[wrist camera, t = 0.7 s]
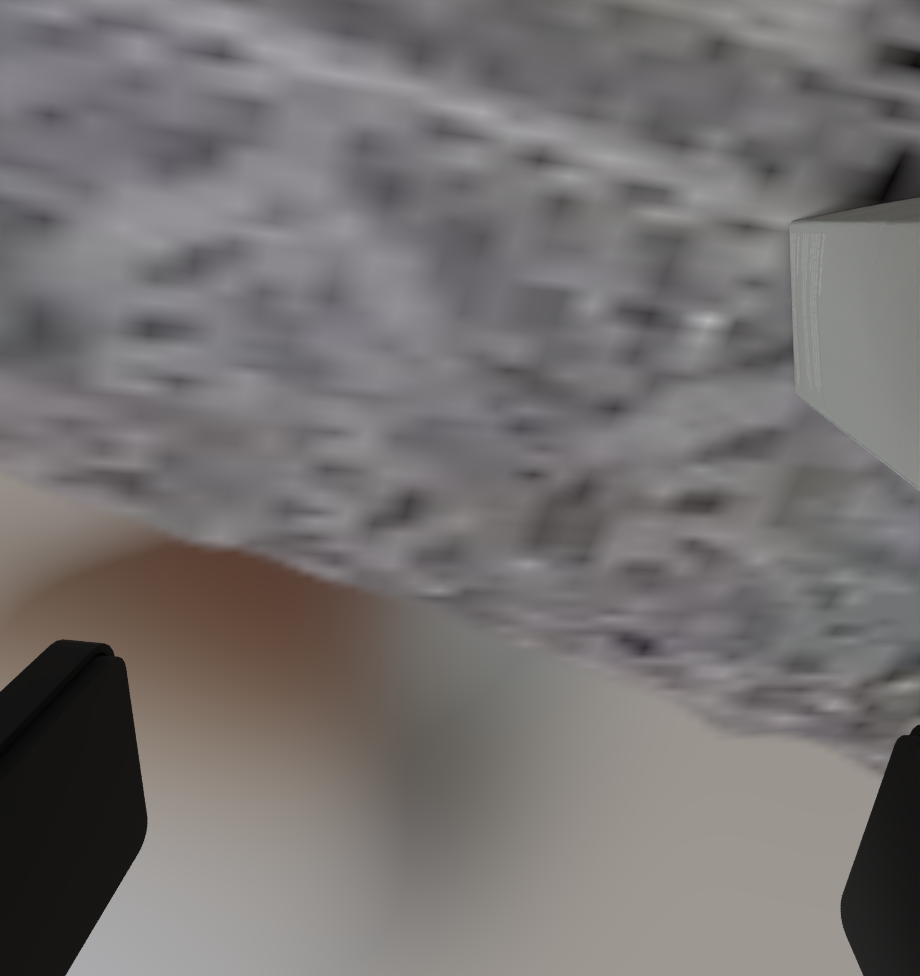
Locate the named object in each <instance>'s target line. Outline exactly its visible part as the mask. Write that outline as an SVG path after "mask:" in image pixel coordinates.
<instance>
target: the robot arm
mask: <svg viewBox="0 0 920 976" xmlns="http://www.w3.org/2000/svg"><path fill="white" fill-rule="evenodd" d="M146 830H147V812H146V805H145V798H144V791H143V783H142V776H141V770H140V762H139V755H138V748H137V742H136V734H135V727H134V720H133V713H132V706H131V699H130V692H129V685H128V678H127V671H126V666H125V662H124V661H123V659H122V658H120V657H115V656H114V652H113V650H112V649H111V647H110V646H109V645H107V644H103V643H93V642H83V641H74V640H64V639H63V640H58V641H56V642H54V643H53V644H51V645H50V646H49V647H48V648H47V649H46V650H45V651H44V652H42V653H41V654H40V655H39V656H38V657H37V658H36V659H35V660H34V661H33V662H32V663H31V664H30V665H29V666H28V667H26V668H25V669H24V670H23V671H22V672H21V673H20V674H19V675H18V676H17V677H16V678H15V679H13V681H11V682H10V683H9V684H8V685H7V686H6V687H5V688H4V689H3V690H2V691H1V692H0V976H65V975H66V974H67V972H68V970H69V969H70V967H71V965H72V964H73V962H74V960H75V958H76V957H77V955H78V953H79V952H80V950H81V948H82V947H83V945H84V943H85V942H86V940H87V938H88V937H89V935H90V933H91V931H92V930H93V928H94V927H95V925H96V923H97V921H98V920H99V918H100V917H101V915H102V913H103V912H104V910H105V908H106V907H107V905H108V903H109V902H110V900H111V898H112V896H113V895H114V893H115V891H116V890H117V888H118V886H119V885H120V883H121V881H122V880H123V878H124V876H125V875H126V873H127V871H128V870H129V868H130V866H131V865H132V863H133V861H134V860H135V858H136V856H137V854H138V853H139V851H140V849H141V847H142V844H143V842H144V839H145V835H146ZM841 919H842V924H843V928H844V931H845V934H846V936H847V938H848V941H849V943H850V945H851V948H852V950H853V953H854V955H855V957H856V960H857V962H858V964H859V966H860V969H861V971H862V973H863V976H920V725H917V726H916V727H915V728H914V729H913V730H912V731H911V733H910V735H903V736H901V737H900V738H898V739H897V741H896V743H895V745H894V748H893V751H892V754H891V757H890V760H889V763H888V765H887V768H886V771H885V774H884V777H883V780H882V783H881V786H880V788H879V791H878V794H877V797H876V800H875V803H874V806H873V809H872V811H871V815H870V817H869V820H868V823H867V826H866V829H865V832H864V834H863V837H862V840H861V843H860V846H859V849H858V852H857V855H856V858H855V861H854V863H853V866H852V869H851V872H850V875H849V878H848V881H847V883H846V886H845V889H844V892H843V895H842V899H841Z"/></svg>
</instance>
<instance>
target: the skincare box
mask: <svg viewBox="0 0 920 976" xmlns="http://www.w3.org/2000/svg"><path fill="white" fill-rule="evenodd" d="M789 233H790V264H791V291H792V320H793V347H794V371H795V392H796V396H798V397H799V398H800V399H802V400H803V401H804V402H805V403H807V404H808V405H809V406H810V407H812V408H813V409H814V410H816V411H817V412H818V413H820V414H821V415H822V416H824V417H825V418H826V419H827V420H829V421H830V422H831V423H833V424H834V425H835V426H836V427H838V428H839V429H840V430H842V431H843V432H844V433H846V434H847V435H848V436H849V437H851V438H852V439H853V440H855V441H856V442H857V443H859V444H860V445H861V446H862V447H864V448H865V449H866V450H867V451H869V452H870V453H871V454H873V455H874V456H875V457H876V458H878V459H879V460H880V461H881V462H883V463H884V464H885V465H887V466H888V467H889V468H891V469H892V470H893V471H895V472H896V473H897V474H898V475H900V476H901V477H902V478H903V479H905V480H906V481H907V482H909V483H910V484H911V485H912V486H914V487H915V488H916V489H918V490H919V491H920V197H919V198H912V199H907V200H901V201H895V202H890V203H884V204H879V205H873V206H868V207H862V208H857V209H852V210H847V211H842V212H837V213H832V214H827V215H822V216H817V217H812V218H807V219H802V220H797V221H792V222H790V224H789Z"/></svg>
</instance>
